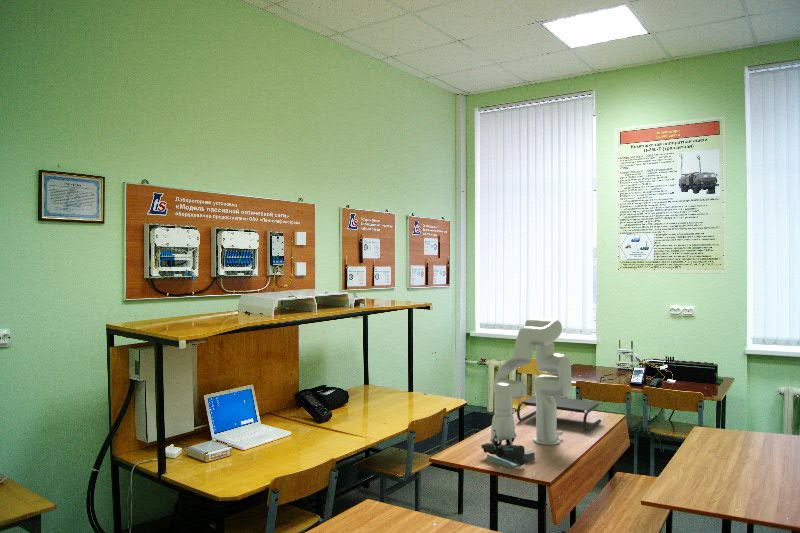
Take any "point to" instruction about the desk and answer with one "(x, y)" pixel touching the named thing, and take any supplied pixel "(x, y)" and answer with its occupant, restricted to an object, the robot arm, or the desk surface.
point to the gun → (507, 451)
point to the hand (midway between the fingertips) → (503, 454)
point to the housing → (528, 456)
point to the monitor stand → (564, 408)
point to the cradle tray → (503, 461)
